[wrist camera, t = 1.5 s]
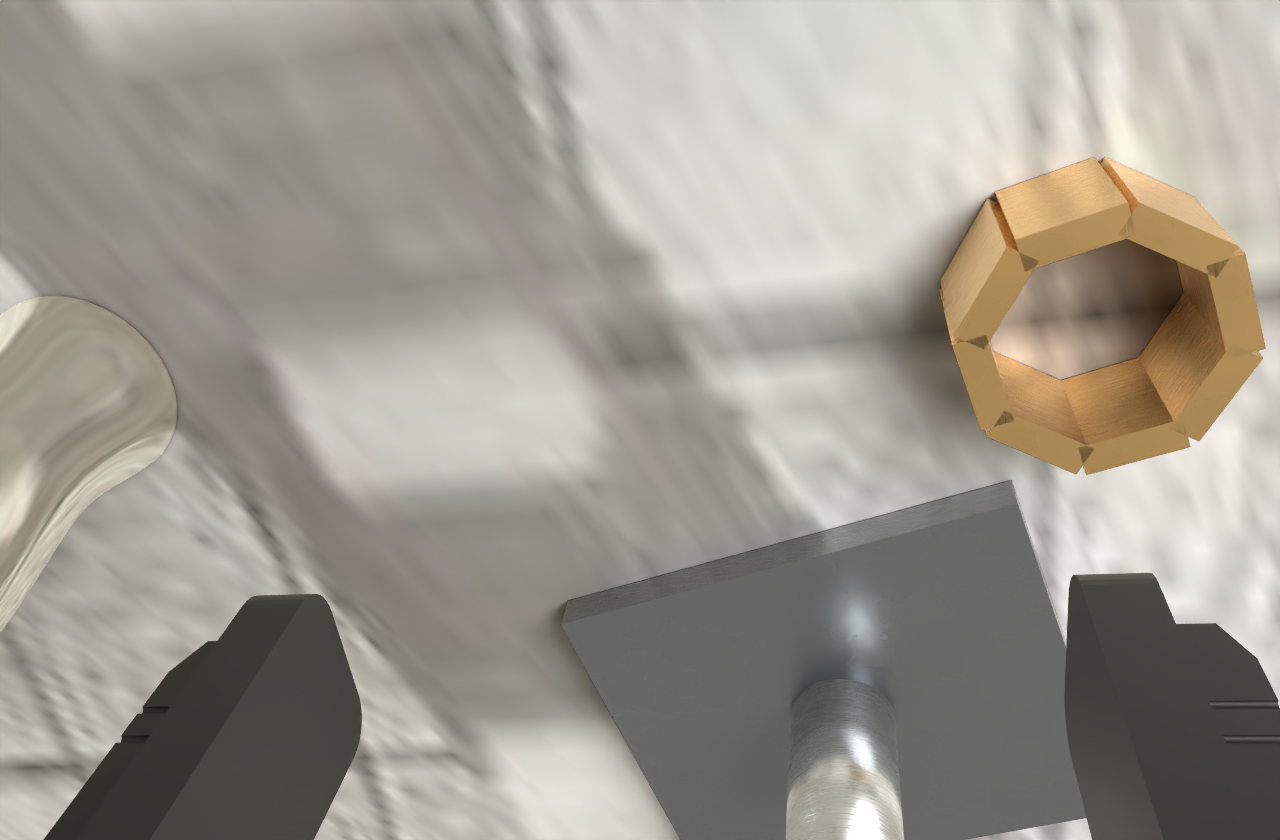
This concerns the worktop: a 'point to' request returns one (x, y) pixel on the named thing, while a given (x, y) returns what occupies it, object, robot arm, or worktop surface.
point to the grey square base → (846, 681)
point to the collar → (1125, 392)
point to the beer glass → (69, 424)
